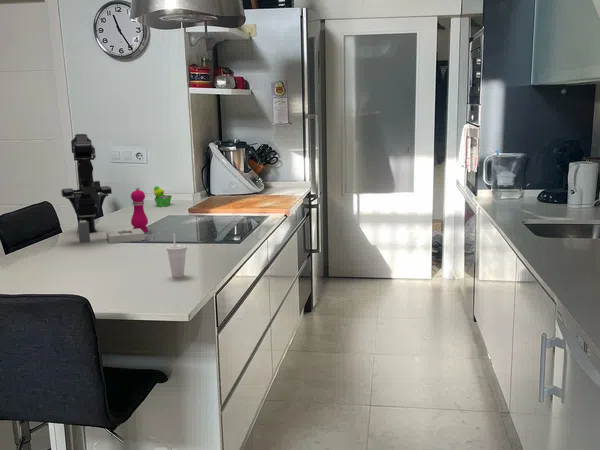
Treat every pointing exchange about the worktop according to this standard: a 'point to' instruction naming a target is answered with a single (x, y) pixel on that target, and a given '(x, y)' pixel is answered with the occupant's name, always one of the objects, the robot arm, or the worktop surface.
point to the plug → (83, 231)
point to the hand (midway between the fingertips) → (88, 212)
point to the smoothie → (177, 259)
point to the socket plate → (125, 235)
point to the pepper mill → (139, 210)
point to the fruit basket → (161, 197)
